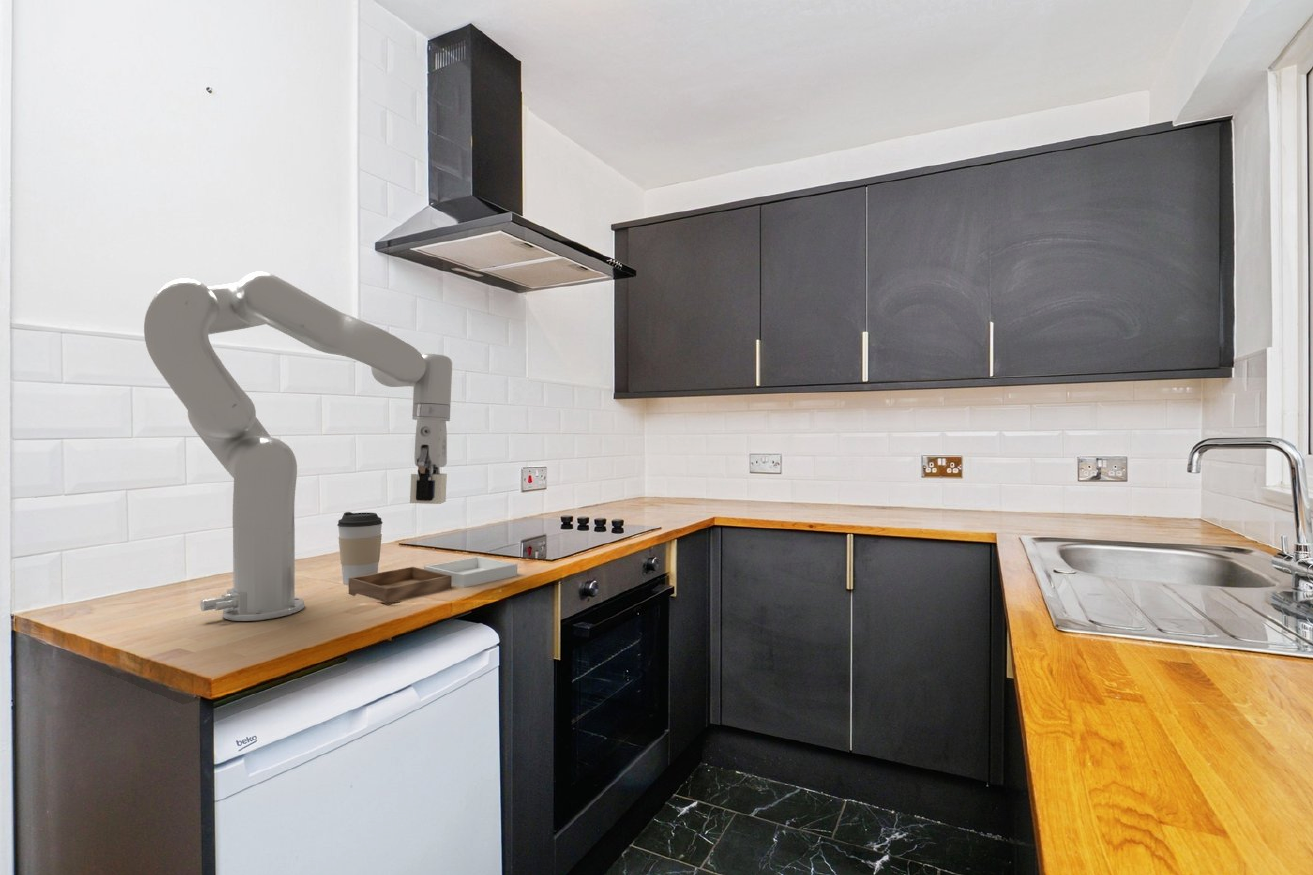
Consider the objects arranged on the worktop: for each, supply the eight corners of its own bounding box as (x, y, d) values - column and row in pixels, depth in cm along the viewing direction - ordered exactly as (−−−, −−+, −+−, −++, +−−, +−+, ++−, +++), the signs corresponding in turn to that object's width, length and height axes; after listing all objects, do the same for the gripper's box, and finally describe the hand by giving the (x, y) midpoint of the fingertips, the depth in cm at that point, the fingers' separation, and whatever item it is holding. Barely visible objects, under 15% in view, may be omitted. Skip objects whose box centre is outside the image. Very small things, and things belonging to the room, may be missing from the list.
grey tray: (463, 590, 133) (463, 575, 133) (424, 580, 141) (424, 566, 141) (517, 577, 144) (517, 564, 144) (477, 569, 152) (477, 556, 152)
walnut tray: (386, 605, 121) (386, 588, 121) (348, 593, 129) (348, 578, 129) (451, 590, 132) (451, 575, 132) (412, 580, 141) (412, 566, 141)
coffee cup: (390, 576, 145) (390, 510, 144) (368, 586, 136) (368, 515, 135) (352, 575, 145) (352, 509, 145) (328, 585, 136) (328, 514, 136)
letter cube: (440, 503, 132) (441, 474, 133) (409, 503, 132) (411, 473, 132) (445, 501, 139) (446, 473, 139) (416, 500, 138) (417, 472, 138)
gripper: (442, 412, 127) (438, 503, 127) (456, 416, 144) (453, 496, 144) (402, 410, 126) (398, 502, 126) (422, 414, 143) (418, 495, 143)
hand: (427, 498), depth 135 cm, fingers closed on letter cube, 6 cm apart
